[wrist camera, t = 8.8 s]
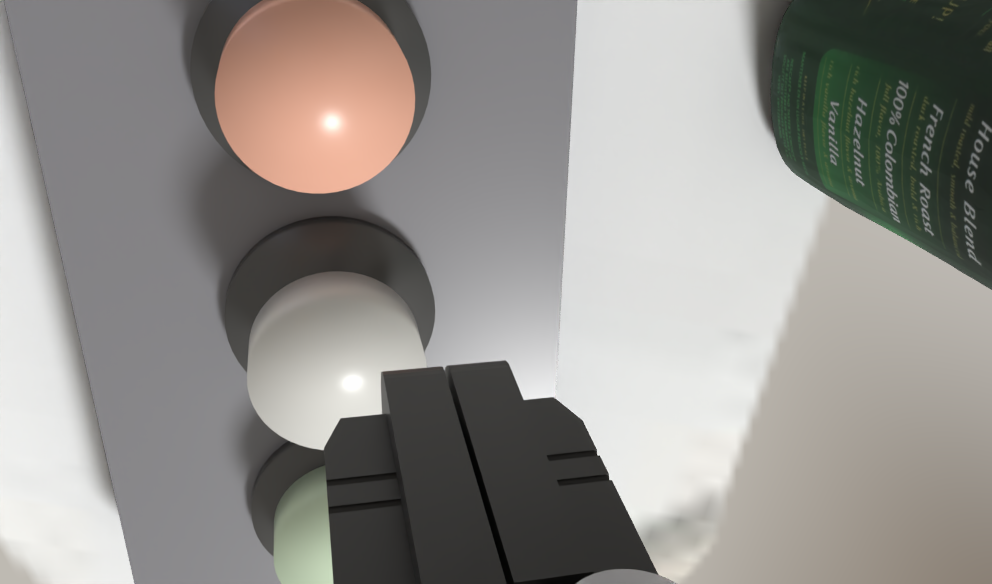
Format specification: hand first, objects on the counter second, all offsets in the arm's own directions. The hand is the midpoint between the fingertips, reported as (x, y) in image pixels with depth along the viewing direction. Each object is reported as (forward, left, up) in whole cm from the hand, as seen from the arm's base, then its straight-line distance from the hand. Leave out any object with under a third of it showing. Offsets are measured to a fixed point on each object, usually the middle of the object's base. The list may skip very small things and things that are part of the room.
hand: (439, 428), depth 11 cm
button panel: (+6, -1, -18) cm, 19 cm away
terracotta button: (-1, -1, -14) cm, 14 cm away
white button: (+6, -1, -13) cm, 15 cm away
